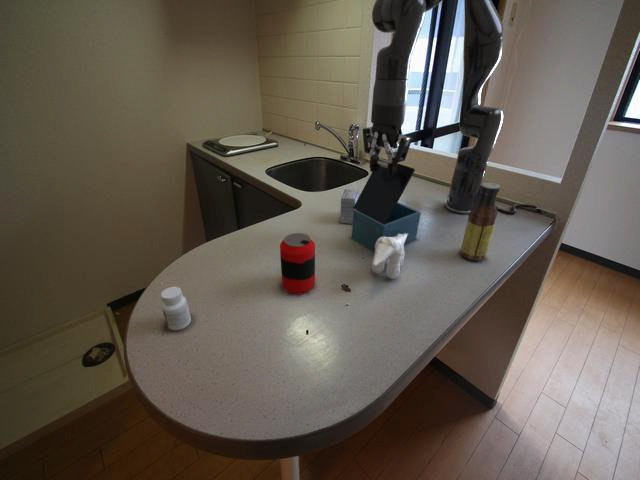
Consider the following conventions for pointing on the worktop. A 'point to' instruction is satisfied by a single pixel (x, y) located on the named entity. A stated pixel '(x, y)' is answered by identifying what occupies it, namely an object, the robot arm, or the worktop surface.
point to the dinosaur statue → (389, 255)
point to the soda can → (297, 263)
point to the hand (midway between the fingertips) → (381, 173)
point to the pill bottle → (175, 308)
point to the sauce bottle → (480, 223)
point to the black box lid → (383, 191)
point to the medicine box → (348, 205)
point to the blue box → (386, 226)
